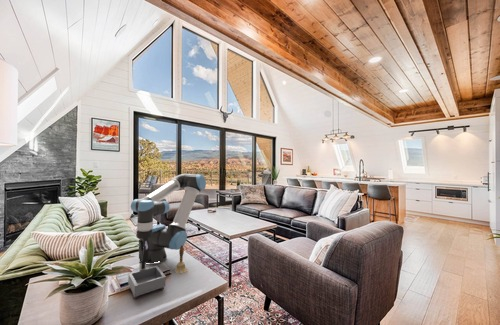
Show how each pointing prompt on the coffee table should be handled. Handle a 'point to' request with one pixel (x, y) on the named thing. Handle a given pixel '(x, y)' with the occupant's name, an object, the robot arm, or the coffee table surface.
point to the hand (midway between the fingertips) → (142, 273)
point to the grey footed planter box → (146, 281)
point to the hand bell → (181, 262)
